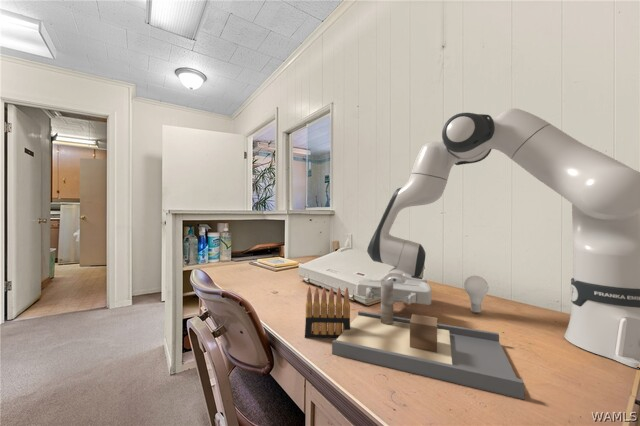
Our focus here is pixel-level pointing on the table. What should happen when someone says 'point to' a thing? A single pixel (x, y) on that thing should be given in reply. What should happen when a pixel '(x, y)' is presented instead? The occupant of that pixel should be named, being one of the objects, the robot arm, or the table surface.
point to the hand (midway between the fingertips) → (387, 298)
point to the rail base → (467, 360)
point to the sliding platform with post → (393, 332)
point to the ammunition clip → (319, 317)
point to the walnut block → (423, 333)
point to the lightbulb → (476, 291)
